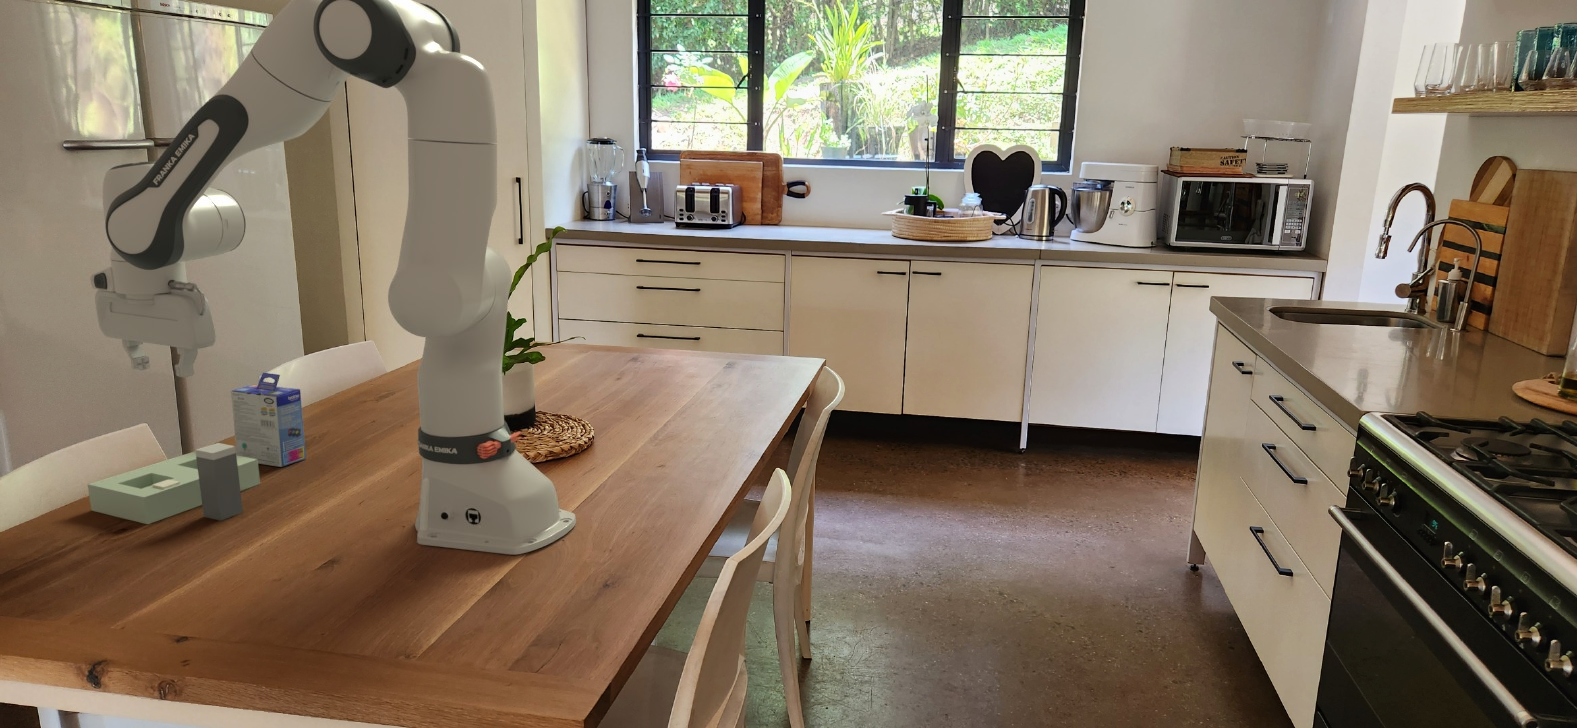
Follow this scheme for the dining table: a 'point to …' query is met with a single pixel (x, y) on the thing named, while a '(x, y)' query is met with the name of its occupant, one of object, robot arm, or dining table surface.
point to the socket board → (159, 489)
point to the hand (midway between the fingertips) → (163, 372)
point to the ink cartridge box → (269, 423)
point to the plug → (219, 481)
